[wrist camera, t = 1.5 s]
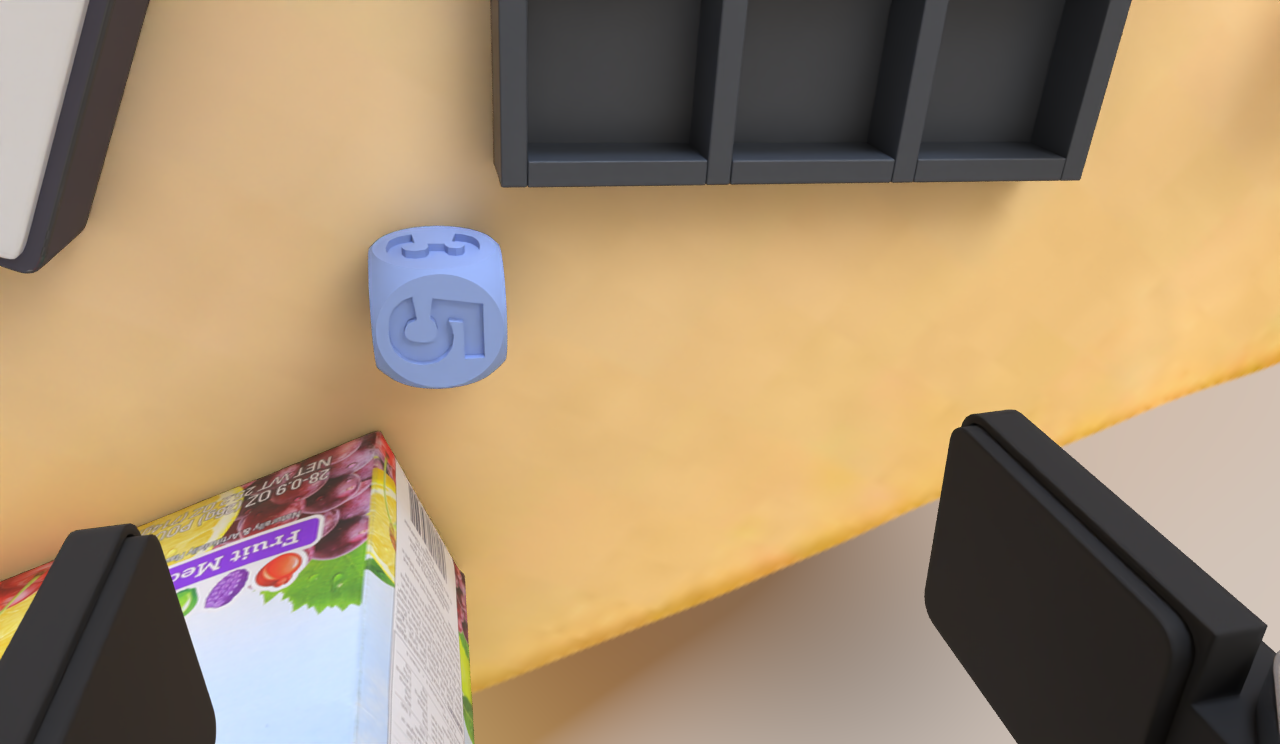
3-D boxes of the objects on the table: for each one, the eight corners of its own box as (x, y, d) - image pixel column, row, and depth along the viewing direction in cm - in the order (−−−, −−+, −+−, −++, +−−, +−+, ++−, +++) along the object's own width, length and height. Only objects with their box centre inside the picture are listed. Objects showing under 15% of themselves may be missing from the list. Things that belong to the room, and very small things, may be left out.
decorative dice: (497, 331, 33) (508, 386, 29) (380, 337, 32) (377, 394, 28) (494, 223, 31) (506, 268, 27) (370, 226, 30) (366, 273, 26)
